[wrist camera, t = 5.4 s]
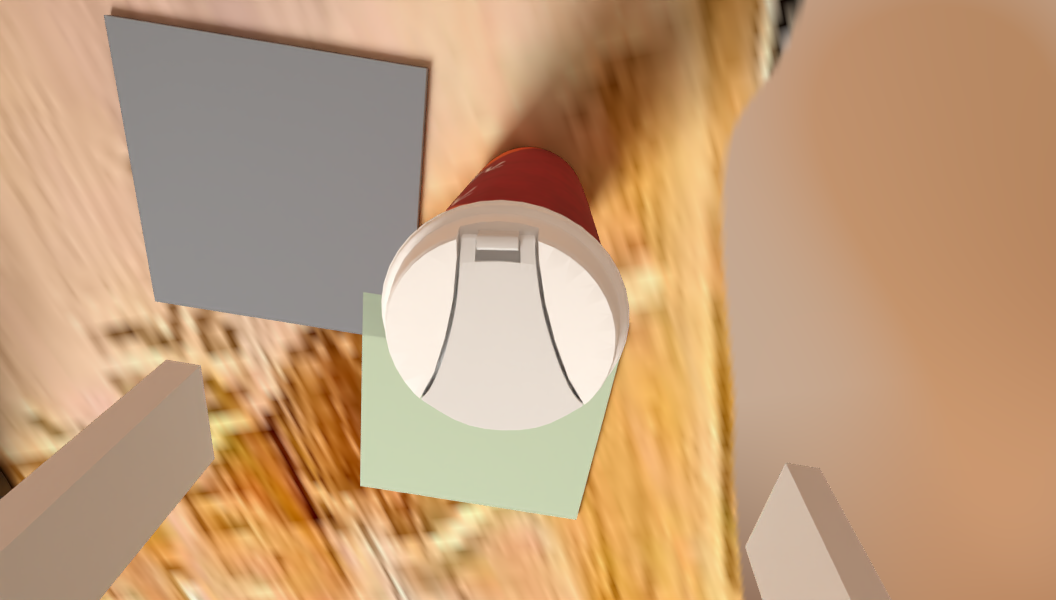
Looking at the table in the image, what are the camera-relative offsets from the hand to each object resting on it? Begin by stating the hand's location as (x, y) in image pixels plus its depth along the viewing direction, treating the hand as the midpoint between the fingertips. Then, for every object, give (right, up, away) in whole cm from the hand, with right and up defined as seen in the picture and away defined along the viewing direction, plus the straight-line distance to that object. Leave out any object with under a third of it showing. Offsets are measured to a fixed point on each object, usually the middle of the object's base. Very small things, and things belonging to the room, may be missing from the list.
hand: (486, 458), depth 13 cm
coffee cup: (+1, +9, +18) cm, 20 cm away
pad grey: (-13, +10, +19) cm, 25 cm away
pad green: (-2, -4, +25) cm, 25 cm away
